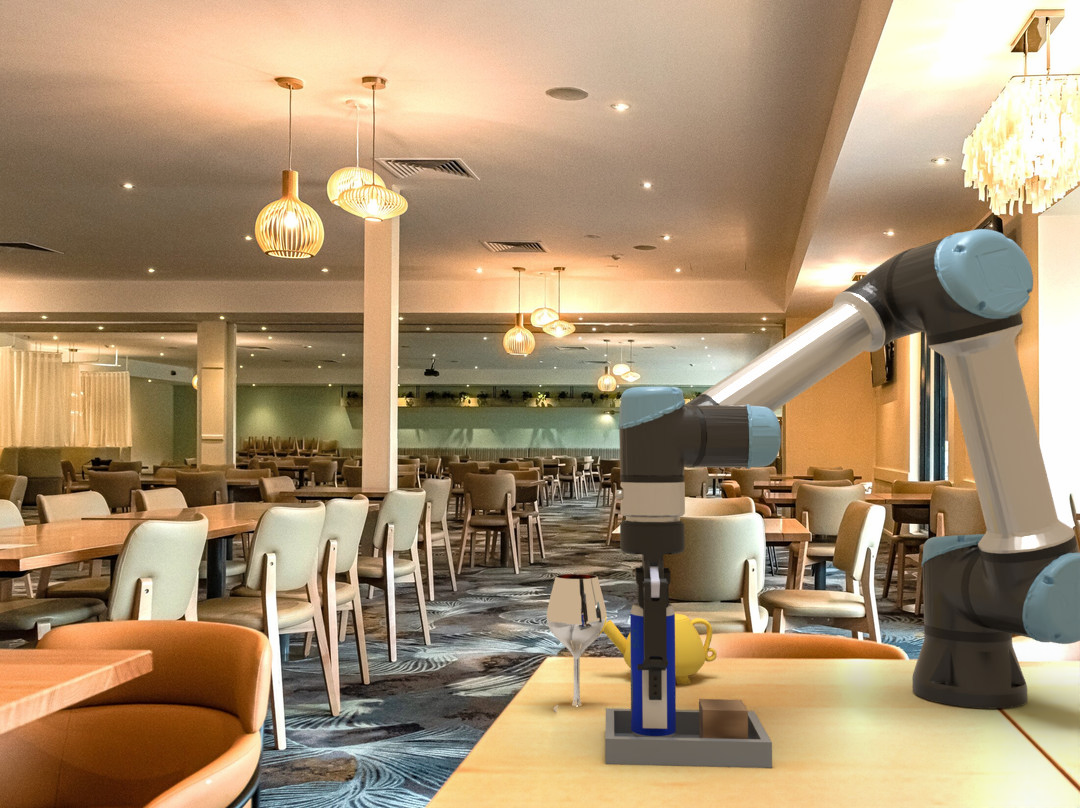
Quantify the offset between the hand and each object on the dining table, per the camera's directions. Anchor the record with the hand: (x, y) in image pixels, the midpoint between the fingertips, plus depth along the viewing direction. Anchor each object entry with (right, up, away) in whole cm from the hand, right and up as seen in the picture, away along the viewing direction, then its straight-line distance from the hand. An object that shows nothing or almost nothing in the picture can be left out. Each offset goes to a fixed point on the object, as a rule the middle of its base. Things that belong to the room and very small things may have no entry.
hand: (653, 719), depth 113 cm
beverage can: (0, -2, 0) cm, 2 cm away
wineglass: (-8, -5, +19) cm, 22 cm away
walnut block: (+8, -3, -1) cm, 9 cm away
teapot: (+5, -6, +39) cm, 40 cm away
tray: (+3, -4, -1) cm, 5 cm away
